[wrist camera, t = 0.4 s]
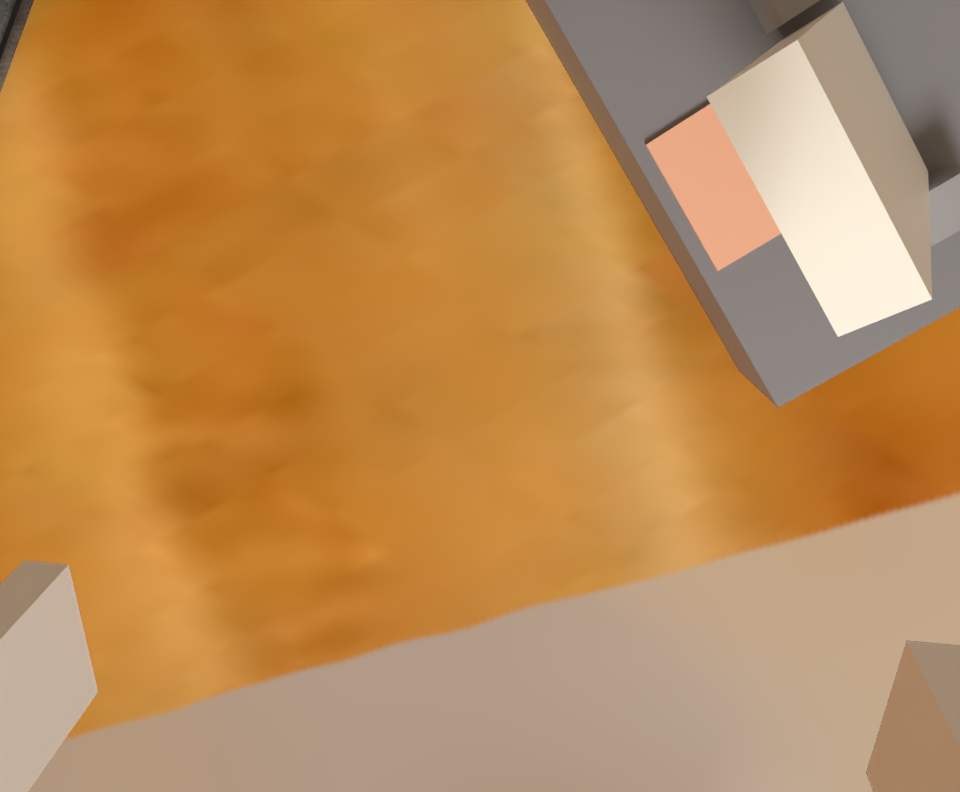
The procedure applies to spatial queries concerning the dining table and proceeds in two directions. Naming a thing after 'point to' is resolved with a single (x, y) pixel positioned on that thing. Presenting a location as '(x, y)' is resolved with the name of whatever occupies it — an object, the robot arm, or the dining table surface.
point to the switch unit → (723, 177)
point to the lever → (834, 170)
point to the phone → (11, 31)
